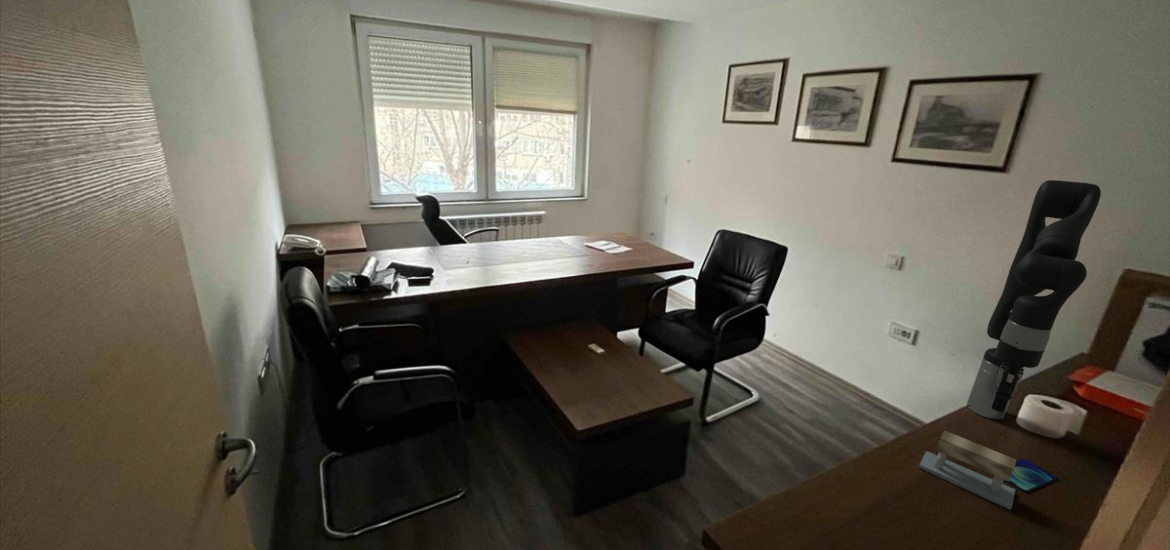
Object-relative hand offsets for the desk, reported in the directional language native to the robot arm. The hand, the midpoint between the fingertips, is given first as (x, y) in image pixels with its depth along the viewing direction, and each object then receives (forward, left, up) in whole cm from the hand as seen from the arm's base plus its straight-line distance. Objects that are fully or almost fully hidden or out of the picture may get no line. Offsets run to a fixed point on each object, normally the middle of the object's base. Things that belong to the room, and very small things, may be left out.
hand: (998, 403), depth 107 cm
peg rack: (+1, -1, -22) cm, 22 cm away
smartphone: (-9, +13, -23) cm, 28 cm away
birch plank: (+1, -1, -16) cm, 16 cm away
